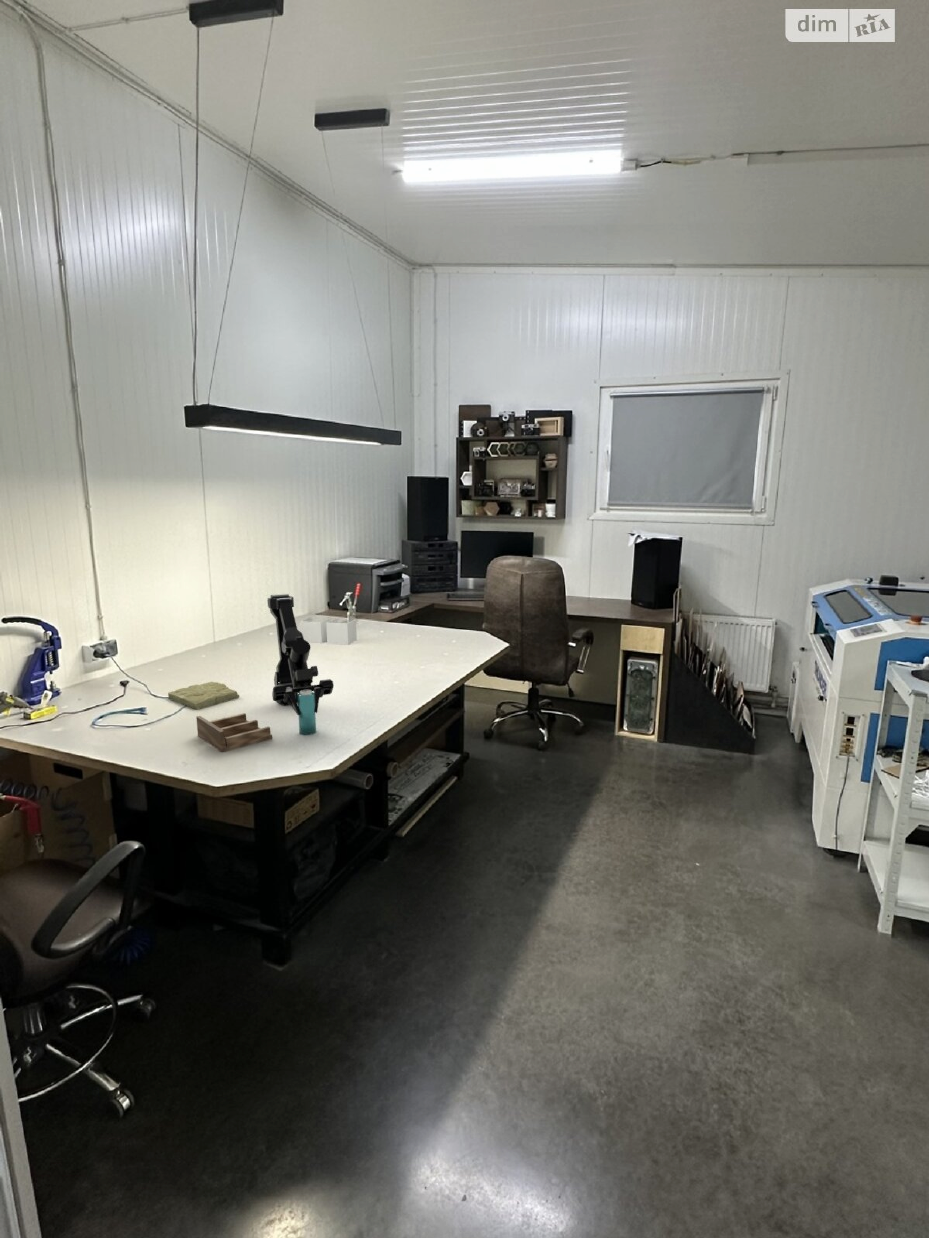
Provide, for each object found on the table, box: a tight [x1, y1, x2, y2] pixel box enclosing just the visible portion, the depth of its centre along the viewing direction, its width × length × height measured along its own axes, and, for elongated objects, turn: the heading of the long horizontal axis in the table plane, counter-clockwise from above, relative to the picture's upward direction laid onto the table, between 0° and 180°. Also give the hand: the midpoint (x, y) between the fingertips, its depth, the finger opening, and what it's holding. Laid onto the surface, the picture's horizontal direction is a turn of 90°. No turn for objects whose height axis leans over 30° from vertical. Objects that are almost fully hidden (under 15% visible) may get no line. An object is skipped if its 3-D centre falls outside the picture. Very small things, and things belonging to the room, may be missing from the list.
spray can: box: [297, 689, 317, 736], centre depth 212 cm, size 5×5×14 cm
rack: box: [196, 713, 273, 753], centre depth 208 cm, size 16×18×6 cm
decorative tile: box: [167, 681, 240, 710], centre depth 247 cm, size 19×20×4 cm
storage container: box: [299, 616, 358, 646], centre depth 336 cm, size 25×11×11 cm, turn 76°
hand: (307, 713), depth 211 cm, fingers closed on spray can, 5 cm apart
